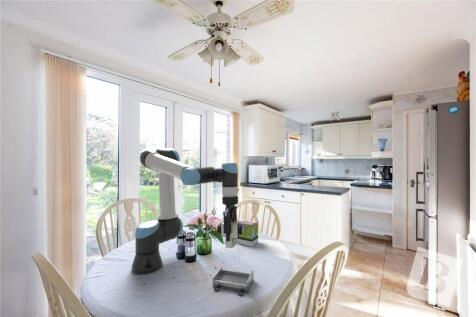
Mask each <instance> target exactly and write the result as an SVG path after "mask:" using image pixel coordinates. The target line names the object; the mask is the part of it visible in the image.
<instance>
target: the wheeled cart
mask: <svg viewBox="0 0 476 317" xmlns="http://www.w3.org/2000/svg"><path fill="white" fill-rule="evenodd" d="M254 277H255V276H254V270H251V271H250V272H243V271H237V270H230V269H225V268H223V265H221V266H219V268H218V269H217V271H216V272H215V273H214V274H213V276H212V288H213V290H214V292H220V290H221V289H223V290H227V291H233V292H237V295H238V296H239V297H243V296H244V295H245V294H249V293H250V290H251V287H252V285H253V282H254V279H255V278H254Z"/></svg>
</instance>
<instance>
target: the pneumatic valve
mask: <svg viewBox="0 0 476 317" xmlns="http://www.w3.org/2000/svg"><path fill="white" fill-rule="evenodd" d="M216 232H217V234H219V236H220V237H219V238H224V239H225V240H224V245H225V246H226V234H224V233H223V232H224V220H222V221H221V222H220V223H218V224H217V228H216ZM243 232H244V226H243V225H241V222H237V221H232V223H231V233H232V248H234V247H235V246H237V244H238V243H237V240H235V238H239V237H240V235H243Z"/></svg>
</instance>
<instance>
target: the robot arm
mask: <svg viewBox="0 0 476 317" xmlns="http://www.w3.org/2000/svg"><path fill="white" fill-rule="evenodd" d="M180 160H181V159H180V155H179V152H178V151H177V150H176V149H174V148H170V147H148V148H144V149H143V150H142V151H141V153H140V155H139V161H140V162H139V163H140V164H141V165H142V166H143V167H144V168H147V169H149V170H153V171H154V170H155V172H156V173H157V174H158V194H159V211H160V212H159V213H160V214H159V216H158V217H157V220H149V221H148V220H147V221H144V222H141V223H140V224H138V225H137V226H136V228H135V234H134V238H135V254H134V258H133V262H132V264H131V271H132V273H134V274H136V275H147V274H152V273H155V272H157V271H158V270H160V269H161V268H162V267H163V258H162V256H161V253H160V244H162V243H166V242H168V241H170V240H174V239H176V238H178V237H180V235H181V234H182V232H183V231H184V230H183V228H184V223H183V221H182V219H181V218H180V217H179V214H177V212H176V198H175V195H176V194H175V178H176V179H179V180H180V181H181V182H182V184H183V185H185V186H196V185H202V184H209V183H221V195H222V197H221V203H222V205H224V206H225V209H224V211H223V212H222V215H223V221H224V232H223V233H224V234H226V237H225V239H226V245H225V249H232V248H233V247H232V233H231V223H232V221H237V220H238V215H237V214H238V213H237V212H238V211H237V210H238V204H239V196H238V195H239V191H240V189H239V182H238V181H239V180H238V179H239V177H238V176H239V171H238V163H236V162H222V163H221V166H205V167H195V166H193V165H190V164H186V163H183V162H182V161H181V162H180ZM235 240H236V238H235Z"/></svg>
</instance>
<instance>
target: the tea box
mask: <svg viewBox="0 0 476 317" xmlns="http://www.w3.org/2000/svg"><path fill="white" fill-rule="evenodd" d="M237 222H241V225H243V226H244V232H243V235H240V237H239V238H236V240H237V244H239V245H244V246H247V247H251V248H252V247H254V246H255V245H257V244H258V243H259V221H257V220H249V219H244V218H243V219H242V218H239V219H237Z"/></svg>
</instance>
